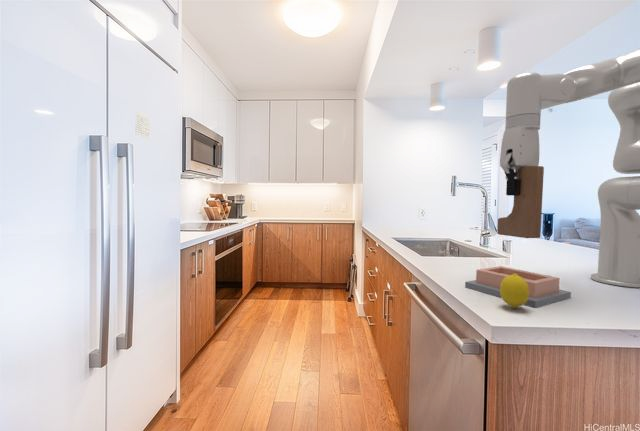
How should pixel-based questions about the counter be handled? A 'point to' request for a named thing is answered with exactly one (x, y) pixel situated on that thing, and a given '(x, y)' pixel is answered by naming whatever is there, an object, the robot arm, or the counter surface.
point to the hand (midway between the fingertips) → (519, 194)
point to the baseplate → (530, 300)
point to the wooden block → (525, 206)
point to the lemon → (514, 290)
